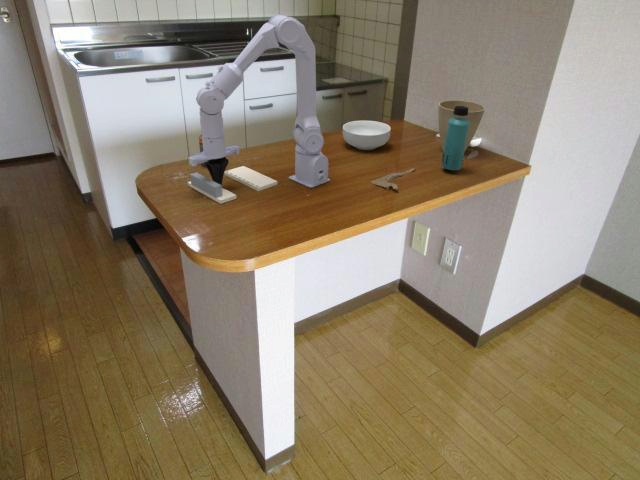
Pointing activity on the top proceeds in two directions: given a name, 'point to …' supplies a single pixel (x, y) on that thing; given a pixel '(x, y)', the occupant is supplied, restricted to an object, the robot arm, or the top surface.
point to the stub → (210, 188)
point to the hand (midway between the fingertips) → (217, 184)
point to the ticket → (250, 178)
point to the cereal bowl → (366, 134)
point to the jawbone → (384, 180)
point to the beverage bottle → (456, 139)
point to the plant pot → (447, 113)
